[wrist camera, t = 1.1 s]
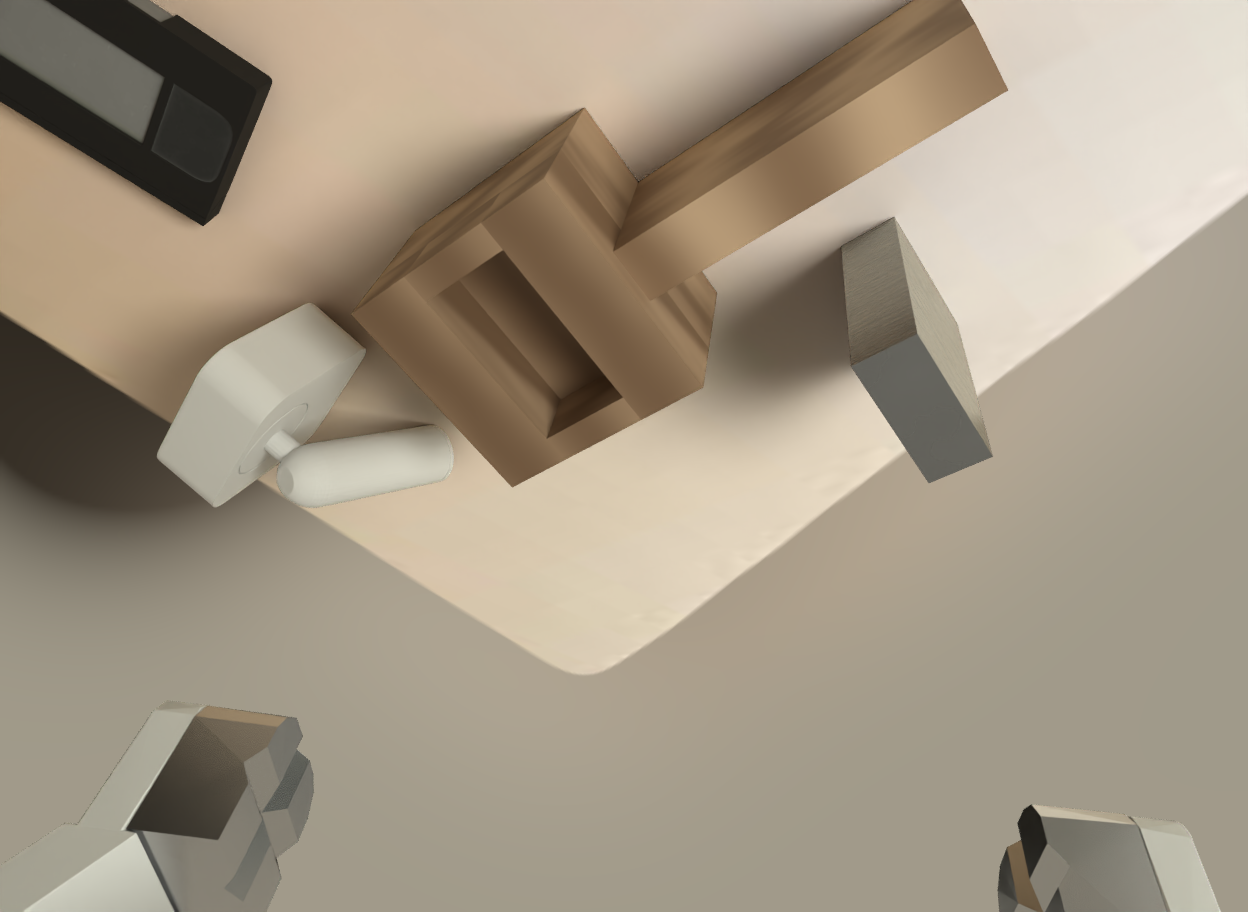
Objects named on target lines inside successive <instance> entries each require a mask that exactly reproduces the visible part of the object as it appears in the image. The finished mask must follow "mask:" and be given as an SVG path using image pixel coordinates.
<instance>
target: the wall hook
mask: <svg viewBox="0 0 1248 912" xmlns="http://www.w3.org/2000/svg"><path fill="white" fill-rule="evenodd" d="M365 354H366V349H365V348H364V347H363V346H361V345H360V344H359V343H358V342H357V341H356V340H355V339H353V338H352V337H351V336H350V335H349V334H348V333H347V332H345V331H344V330H343V329H342V328H341V327H340V326H339V325H337V324H336V323H335V322H334V321H333V320H332V319H331V318H329V317H328V316H327V315H326V314H325V313H324V312H323V311H321V310H320V309H319V308H318V307H317V306H316V305H314V304H313V303H306V304H304V305H302V306H300V307H298V308H296V309H294V310H292V311H290V312H288V313H287V314H285V315H283V316H281V317H279V318H277V319H275V320H273V321H271V322H269V323H267V324H265V325H264V326H262V327H260V328H258V329H256V330H254V331H252V332H250V333H248V334H246V335H245V336H243V337H241V338H239V339H237V340H235V341H233V342H231V343H229V344H228V345H226V346H224V347H223V348H222V349H220V350H219V351H218V352H217V353H216V354H214V355H213V356H212V357H211V358H210V359H209V360H208V361H207V362H206V364H205V365H204V366H203V367H202V368H201V370H200V371H199V373H198V374H197V376H196V378H195V380H194V382H193V384H192V386H191V388H190V390H189V392H188V393H187V395H186V397H185V399H184V401H183V403H182V405H181V407H180V409H179V411H178V413H177V415H176V417H175V419H174V421H173V423H172V425H171V427H170V429H169V431H168V433H167V435H166V437H165V439H164V441H163V443H162V444H161V447H160V449H159V450H158V453H157V458H158V459H159V460H160V462H162V463H163V464H164V465H165V466H166V467H167V468H169V469H170V470H171V471H172V472H173V473H175V474H176V475H177V476H178V477H179V478H181V479H182V480H183V481H184V482H185V483H186V484H187V485H189V486H190V487H191V488H192V489H193V490H195V491H196V492H197V493H198V494H199V495H201V496H202V497H203V498H204V499H205V500H206V501H207V502H209V503H210V504H211V505H212V506H213V507H218V506H220V505H222V504H223V503H225V502H226V501H228V500H229V499H230V498H232V497H233V496H235V495H236V494H237V493H239V492H240V491H241V490H243V489H244V488H245V487H247V486H248V485H250V484H251V483H252V482H254V481H255V480H257V479H258V478H259V477H261V476H262V475H264V474H265V473H266V472H268V471H269V470H270V469H272V468H273V467H275V466H276V465H277V464H279V463H280V465H279V467H278V470H277V484H278V487H279V489H280V491H281V493H282V494H283V495H284V496H285V497H286V498H287V499H288V500H290V501H291V502H293V503H295V504H297V505H299V506H303V507H309V508H317V507H323V506H328V505H333V504H338V503H343V502H347V501H352V500H357V499H361V498H366V497H371V496H375V495H380V494H385V493H390V492H394V491H399V490H404V489H408V488H413V487H418V486H422V485H427V484H432V483H436V482H441V481H443V480H445V479H446V478H447V477H448V476H449V474H450V473H451V470H452V467H453V462H454V454H453V448H452V445H451V442H450V440H449V438H448V436H447V435H446V433H445V432H444V431H443V430H442V429H441V428H439V427H437V426H434V425H428V426H421V427H414V428H408V429H401V430H395V431H388V432H381V433H375V434H368V435H362V436H355V437H348V438H342V439H335V440H329V441H322V442H316V443H310V444H305V445H303V444H304V443H305V442H306V441H307V440H308V439H309V438H310V437H311V436H312V435H313V434H314V432H315V431H316V430H317V429H318V427H319V426H320V425H321V423H322V421H323V420H324V418H325V417H326V415H327V414H328V412H329V411H330V409H331V408H332V406H333V405H334V403H335V401H336V400H337V398H338V397H339V395H340V394H341V392H342V391H343V389H344V388H345V386H346V385H347V383H348V381H349V380H350V378H351V377H352V375H353V374H354V372H355V371H356V369H357V368H358V366H359V365H360V363H361V361H362V360H363V358H364V356H365Z"/></svg>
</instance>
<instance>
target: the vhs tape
mask: <svg viewBox="0 0 1248 912" xmlns="http://www.w3.org/2000/svg"><path fill="white" fill-rule="evenodd" d="M271 85H272V79H271V78H270V77H269V76H268V75H266V74H265V73H263V72H262V71H260V70H259V69H258V68H256V67H255V66H253V65H252V64H250V63H249V62H247V61H246V60H244V59H243V58H241V57H240V56H238V55H237V54H235V53H234V52H232V51H231V50H229V49H228V48H226V47H225V46H223V45H222V44H220V43H219V42H217V41H216V40H214V39H213V38H211V37H210V36H208V35H207V34H205V33H204V32H202V31H201V30H199V29H198V28H196V27H195V26H193V25H192V24H190V23H189V22H187V21H186V20H184V19H183V18H181V17H180V16H178V15H176V16H172V15H171V14H169V13H168V12H166V11H165V10H163V9H162V8H160V7H159V6H157V5H156V4H154V3H153V2H151V1H150V0H0V101H1V102H2V103H4V104H5V105H7V106H9V107H10V108H12V109H14V110H15V111H17V112H18V113H20V114H22V115H23V116H25V117H27V118H28V119H30V120H31V121H33V122H35V123H36V124H38V125H40V126H41V127H43V128H44V129H46V130H48V131H49V132H51V133H53V134H54V135H56V136H57V137H59V138H61V139H62V140H64V141H66V142H67V143H69V144H70V145H72V146H74V147H75V148H77V149H79V150H80V151H82V152H83V153H85V154H87V155H88V156H90V157H91V158H93V159H95V160H96V161H98V162H100V163H101V164H103V165H104V166H106V167H108V168H109V169H111V170H113V171H114V172H116V173H117V174H119V175H121V176H122V177H124V178H126V179H127V180H129V181H130V182H132V183H134V184H135V185H137V186H139V187H140V188H142V189H143V190H145V191H147V192H148V193H150V194H152V195H153V196H155V197H156V198H158V199H160V200H161V201H163V202H165V203H166V204H168V205H169V206H171V207H173V208H174V209H176V210H177V211H179V212H181V213H182V214H184V215H186V216H187V217H189V218H190V219H192V220H194V221H195V222H197V223H199V224H200V225H202V226H204V225H205V224H207V223H208V222H209V221H210V220H211V219H213V218H214V217H215V216H216V215H217V214H219V212H220V209H221V207H222V204H223V202H224V199H225V197H226V194H227V192H228V190H229V188H230V186H231V183H232V181H233V178H234V176H235V174H236V171H237V169H238V166H239V164H240V161H241V159H242V157H243V154H244V152H245V149H246V147H247V144H248V142H249V139H250V137H251V135H252V132H253V130H254V127H255V125H256V122H257V120H258V118H259V115H260V113H261V110H262V108H263V105H264V103H265V100H266V97H267V95H268V92H269V90H270V87H271Z"/></svg>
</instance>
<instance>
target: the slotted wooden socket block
mask: <svg viewBox="0 0 1248 912" xmlns="http://www.w3.org/2000/svg"><path fill="white" fill-rule="evenodd" d="M1006 91H1008V89H1007V87H1006V85H1005V83H1004V81H1003V79H1002V76H1001V74H1000V72H999V70H998V68H997V66H996V64H995V62H994V60H993V58H992V56H991V54H990V52H989V50H988V48H987V46H986V44H985V42H984V40H983V38H982V36H981V34H980V32H979V30H978V28H977V26H976V24H975V22H974V20H973V19H972V17H971V16H970V14H969V12H968V11H967V9H966V7H965V6H964V4H963V2H962V1H961V0H913V1H911V2H910V3H908V4H907V5H905V6H904V7H902V8H901V9H899V10H898V11H896V12H895V13H893V14H892V15H890V16H889V17H887V18H886V19H884V20H883V21H881V22H880V23H878V24H877V25H875V26H873V27H872V28H870V29H869V30H867V31H866V32H864V33H863V34H861V35H860V36H858V37H857V38H855V39H854V40H852V41H851V42H849V43H848V44H846V45H845V46H843V47H842V48H840V49H839V50H837V51H836V52H834V53H833V54H831V55H830V56H828V57H827V58H825V59H824V60H822V61H821V62H819V63H818V64H816V65H815V66H813V67H812V68H810V69H809V70H807V71H806V72H804V73H803V74H801V75H800V76H798V77H796V78H795V79H793V80H792V81H790V82H789V83H787V84H786V85H784V86H783V87H781V88H780V89H778V90H777V91H775V92H774V93H772V94H771V95H769V96H768V97H766V98H765V99H763V100H762V101H760V102H759V103H757V104H756V105H754V106H753V107H751V108H750V109H748V110H747V111H745V112H744V113H742V114H741V115H739V116H738V117H736V118H735V119H733V120H732V121H730V122H729V123H727V124H726V125H724V126H723V127H721V128H720V129H718V130H716V131H715V132H713V133H712V134H710V135H709V136H707V137H706V138H704V139H703V140H701V141H700V142H698V143H697V144H695V145H694V146H692V147H691V148H689V149H688V150H686V151H685V152H683V153H682V154H680V155H679V156H677V157H676V158H674V159H673V160H671V161H670V162H668V163H667V164H665V165H664V166H662V167H661V168H659V169H658V170H656V171H655V172H653V173H652V174H650V175H649V176H647V177H646V178H644V179H643V180H641V181H639V182H637V180H636V179H635V177H634V176H633V175H632V173H631V172H630V170H629V169H628V168H627V166H626V165H625V163H624V162H623V161H622V159H621V158H620V156H619V155H618V154H617V152H616V151H615V149H614V148H613V147H612V145H611V144H610V142H609V141H608V140H607V138H606V137H605V135H604V134H603V133H602V131H601V130H600V128H599V127H598V126H597V124H596V123H595V121H594V120H593V119H592V117H591V116H590V114H589V113H588V112H587V110H586V109H585V108H583V109H582V110H581V111H579V112H578V113H576V114H575V115H574V116H572V117H571V118H570V119H568V120H567V121H565V122H564V123H563V124H561V125H560V126H559V127H557V128H556V129H554V130H553V131H552V132H550V133H549V134H548V135H546V136H545V137H543V138H542V139H541V140H539V141H538V142H537V143H535V144H534V145H532V146H531V147H530V148H528V149H527V150H526V151H524V152H523V153H522V154H520V155H519V156H517V157H516V158H515V159H513V160H512V161H511V162H509V163H508V164H506V165H505V166H504V167H502V168H501V169H500V170H498V171H497V172H495V173H494V174H493V175H491V176H490V177H489V178H487V179H486V180H484V181H483V182H482V183H480V184H479V185H478V186H476V187H475V188H473V189H472V190H471V191H469V192H468V193H467V194H465V195H464V196H462V197H461V198H460V199H458V200H457V201H456V202H454V203H453V204H452V205H450V206H449V207H447V208H446V209H445V210H443V211H442V212H441V213H439V214H438V215H436V216H435V217H434V218H432V219H431V220H430V221H428V222H427V223H425V224H424V225H423V226H421V227H420V228H419V229H417V230H416V231H415V232H414V233H413V234H412V236H411V237H410V238H409V240H408V241H407V242H406V243H405V245H404V246H403V247H402V249H401V250H400V251H399V253H398V254H397V255H396V256H395V258H394V259H393V260H392V262H391V263H390V264H389V265H388V267H387V268H386V269H385V271H384V272H383V273H382V275H381V276H380V277H379V278H378V280H377V281H376V282H375V284H374V285H373V286H372V287H371V289H370V290H369V291H368V293H367V294H366V295H365V296H364V298H363V299H362V300H361V302H360V303H359V304H358V306H357V307H356V308H355V309H354V311H353V312H352V313H351V315H352V316H353V317H354V318H355V319H356V320H357V321H358V322H359V323H360V324H361V326H362V327H363V328H364V329H365V330H366V331H367V332H368V333H369V334H370V335H371V336H372V337H373V338H374V339H375V341H376V342H377V343H378V344H379V345H380V346H381V347H382V348H383V349H384V350H385V351H386V352H387V353H388V355H389V356H390V357H391V358H392V359H393V360H394V361H395V362H396V363H397V364H398V365H399V366H400V367H401V368H402V370H403V371H404V372H405V373H406V374H407V375H408V376H409V377H410V378H411V379H412V380H413V381H414V382H415V384H416V385H417V386H418V387H419V388H420V389H421V390H422V391H423V392H424V393H425V394H426V395H427V396H428V397H429V399H430V400H431V401H432V402H433V403H434V404H435V405H436V406H437V407H438V408H439V409H440V410H441V411H442V413H443V414H444V415H445V416H446V417H447V418H448V419H449V420H450V421H451V422H452V423H453V424H454V425H455V426H456V428H457V429H458V430H459V431H460V432H461V433H462V434H463V435H464V436H465V437H466V438H467V439H468V440H469V441H470V443H471V444H472V445H473V446H474V447H475V448H476V449H477V450H478V451H479V452H480V453H481V454H482V455H483V457H484V458H485V459H486V460H487V461H488V462H489V463H490V464H491V465H492V466H493V467H494V468H495V469H496V470H497V472H498V473H499V474H500V475H501V476H502V477H503V478H504V479H505V480H506V481H507V482H508V483H509V484H510V486H511V487H514V486H516V485H518V484H520V483H522V482H524V481H525V480H527V479H529V478H531V477H533V476H535V475H537V474H539V473H541V472H543V471H545V470H546V469H548V468H550V467H552V466H554V465H556V464H558V463H560V462H562V461H564V460H566V459H567V458H569V457H571V456H573V455H575V454H577V453H579V452H581V451H583V450H585V449H587V448H588V447H590V446H592V445H594V444H596V443H598V442H600V441H602V440H604V439H606V438H608V437H609V436H611V435H613V434H615V433H617V432H619V431H621V430H623V429H625V428H627V427H629V426H630V425H632V424H634V423H636V422H638V421H640V420H642V419H644V418H646V417H648V416H650V415H651V414H653V413H655V412H657V411H659V410H661V409H663V408H665V407H667V406H669V405H671V404H672V403H674V402H676V401H678V400H680V399H682V398H684V397H686V396H688V395H690V394H692V393H694V392H695V391H697V390H699V389H701V388H703V386H704V379H705V372H706V365H707V358H708V351H709V345H710V338H711V331H712V324H713V317H714V310H715V304H716V297H717V292H716V291H715V290H714V288H713V287H712V285H711V284H710V283H709V281H708V280H707V278H706V277H705V276H704V274H703V273H702V270H704V269H706V268H707V267H709V266H711V265H713V264H714V263H716V262H718V261H719V260H721V259H723V258H724V257H726V256H728V255H730V254H731V253H733V252H735V251H736V250H738V249H740V248H741V247H743V246H745V245H746V244H748V243H750V242H752V241H753V240H755V239H757V238H758V237H760V236H762V235H763V234H765V233H767V232H769V231H770V230H772V229H774V228H775V227H777V226H779V225H780V224H782V223H784V222H786V221H787V220H789V219H791V218H792V217H794V216H796V215H797V214H799V213H801V212H802V211H804V210H806V209H808V208H809V207H811V206H813V205H814V204H816V203H818V202H819V201H821V200H823V199H825V198H826V197H828V196H830V195H831V194H833V193H835V192H836V191H838V190H840V189H842V188H843V187H845V186H847V185H848V184H850V183H852V182H853V181H855V180H857V179H858V178H860V177H862V176H864V175H865V174H867V173H869V172H870V171H872V170H874V169H875V168H877V167H879V166H881V165H882V164H884V163H886V162H887V161H889V160H891V159H892V158H894V157H896V156H898V155H899V154H901V153H903V152H904V151H906V150H908V149H909V148H911V147H913V146H914V145H916V144H918V143H920V142H921V141H923V140H925V139H926V138H928V137H930V136H931V135H933V134H935V133H937V132H938V131H940V130H942V129H943V128H945V127H947V126H948V125H950V124H952V123H954V122H955V121H957V120H959V119H960V118H962V117H964V116H965V115H967V114H969V113H970V112H972V111H974V110H976V109H977V108H979V107H981V106H982V105H984V104H986V103H987V102H989V101H991V100H993V99H994V98H996V97H998V96H999V95H1001V94H1003V93H1004V92H1006Z"/></svg>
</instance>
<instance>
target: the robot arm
mask: <svg viewBox="0 0 1248 912" xmlns="http://www.w3.org/2000/svg"><path fill="white" fill-rule="evenodd" d="M302 737H303V735H302V732H301V730H300V727H299V723H298V720H297V718H294V717H286V716H280V715H273V714H265V713H257V712H250V711H243V710H236V709H229V708H221V707H214V706H210V705H202V704H193V703H185V702H177V701H169V700H167V701H165V702H164V703H163V704H162V705H160V706H159V707H158V708H157V709H155V710H154V711H153V712H152V713H151V715H150V716H149V717H148V719H147V720H146V722H145V723H144V725H143V726H142V728H141V729H140V731H139V732H138V734H137V736H136V737H135V738H134V740H133V742H132V743H131V744H130V746H129V747H128V749H127V750H126V752H125V753H124V755H123V756H122V758H121V759H120V761H119V762H118V764H117V765H116V767H115V768H114V770H113V771H112V773H111V774H110V776H109V778H108V779H107V780H106V782H105V783H104V785H103V786H102V788H101V789H100V791H99V792H98V794H97V796H96V797H95V798H94V800H93V802H92V803H91V804H90V806H89V807H88V809H87V810H86V812H85V813H84V815H83V816H82V818H81V819H80V821H79V822H78V824H72V823H64V824H62V825H61V826H59V827H58V828H56V829H55V830H53V831H52V832H50V833H48V834H47V835H45V836H44V837H42V838H41V839H39V840H38V841H36V842H35V843H33V844H32V845H30V846H29V847H27V848H26V849H24V850H23V851H21V852H20V853H18V854H16V855H15V856H13V857H12V858H10V859H9V860H7V861H6V862H4V863H3V864H1V865H0V912H266V911H267V909H268V907H269V904H270V902H271V900H272V898H273V896H274V894H275V891H276V889H277V887H278V885H279V883H280V880H281V874H280V870H279V866H278V862H277V857H278V856H280V855H281V854H282V853H284V852H285V851H286V850H288V849H289V848H290V847H292V846H293V845H294V844H295V843H297V842H298V840H299V838H300V835H301V833H302V831H303V828H304V826H305V824H306V821H307V819H308V815H309V811H310V806H311V802H312V797H313V793H314V787H313V786H314V785H313V771H312V768H311V763H310V760H308V759H307V758H306V757H305V756H304V755H303V754H301V753H300V752H299V751H298V750H297V747H298V745H299V743H300V741H301V739H302ZM1018 828H1019V833H1020V837H1021V840H1020V841H1018V842H1016V843H1014V844H1012V845H1010V846H1008V847H1007V849H1006V851H1005V854H1004V856H1003V859H1002V862H1001V864H1000V871H999V881H998V902H999V912H1221V911H1220V909H1219V906H1218V904H1217V901H1216V898H1215V896H1214V893H1213V891H1212V888H1211V886H1210V883H1209V880H1208V878H1207V875H1206V873H1205V870H1204V868H1203V865H1202V863H1201V860H1200V858H1199V855H1198V852H1197V850H1196V847H1195V845H1194V842H1193V840H1192V837H1191V835H1190V833H1189V831H1188V830H1187V829H1186V828H1185V827H1184V826H1183V825H1182V824H1181V823H1180V822H1176V821H1172V820H1162V819H1151V818H1141V817H1131V816H1126V815H1125V814H1120V813H1110V812H1101V811H1091V810H1081V809H1071V808H1062V807H1052V806H1042V805H1033V804H1031V805H1029V806H1028V807H1026V808H1025V809H1024V810H1023V812H1022V814H1021V816H1020V819H1019V821H1018Z"/></svg>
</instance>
